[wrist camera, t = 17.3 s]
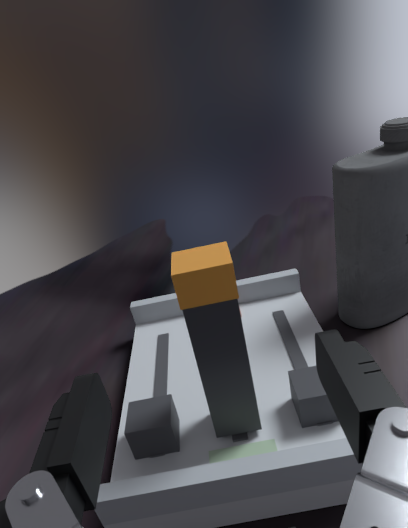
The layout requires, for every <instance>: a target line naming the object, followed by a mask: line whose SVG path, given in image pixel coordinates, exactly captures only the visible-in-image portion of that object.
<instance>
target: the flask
mask: <svg viewBox="0 0 408 528" xmlns="http://www.w3.org/2000/svg"><path fill="white" fill-rule="evenodd" d="M380 141H383V142H384V144H383V145H381V146H379V147H376V148H374V149H371V150H369V151H366V152H363V153H360V154H357V155H354V156H351V157H348V158H345V159H342V160H340V161H339V162H337V163H336V164H334V165H333V168H332V173H333V195H334V218H335V241H336V263H337V286H338V308H339V317H340V319H341V320H342V321H343V322H344V323H346V324H347V325H349V326H352V327H355V328H360V329H369V328H375V327H379V326H382V325H385V324H387V323H389V322H391V321H394V320H396V319H397V318H399V317H401V316H403V315H405V314H406V313H408V117H404V118H397V119H392V120H389V121H386V122H385V123H384V124H383V125H382V126H381V127H380Z"/></svg>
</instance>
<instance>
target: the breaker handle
mask: <svg viewBox="0 0 408 528" xmlns="http://www.w3.org/2000/svg"><path fill="white" fill-rule="evenodd" d="M171 277H172V281H173V284H174V288H175V292H176V296H177V299H178V303H179V307H180V310H182V311H183V314H184V318H185V322H186V326H187V329H188V333H189V337H190V340H191V344H192V348H193V352H194V355H195V359H196V363H197V366H198V370H199V374H200V378H201V381H202V385H203V389H204V393H205V396H206V400H207V404H208V407H209V411H210V415H211V419H212V422H213V426H214V430H215V433H216V437H217V438H219V437H224V436H230V435H235V434H240V433H245V432H251V431H256V430H261V429H262V427H261V422H260V417H259V411H258V406H257V400H256V395H255V390H254V384H253V379H252V374H251V368H250V363H249V358H248V352H247V347H246V341H245V336H244V331H243V325H242V320H241V315H240V309H239V304H238V298H239V295H238V289H237V284H236V278H235V273H234V268H233V262H232V259H231V256H230V252H229V249H228V245H227V242H221V243H216V244H211V245H206V246H202V247H197V248H192V249H187V250H183V251H178V252H173V253H172V261H171Z"/></svg>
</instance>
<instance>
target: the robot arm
mask: <svg viewBox="0 0 408 528" xmlns="http://www.w3.org/2000/svg"><path fill="white" fill-rule="evenodd" d="M315 353H316V367H317V372H318V376H319V379H320V382H321V384H322V386H323V388H324V390H325V393H326V395H327V397H328V399H329V401H330V403H331V406H332V408H333V410H334V412H335V414H336V416H337V419H338V421H339V423H340V425H341V427H342V429H343V432H344V434H345V436H346V438H347V440H348V442H349V445H350V447H351V449H352V451H353V453H354V455H355V458H356V460H357V462H358V464H360V463H363V466H362V469H361V472H360V473H359V472H358V473H357V475H356V477H355V480H354V483H353V486H352V490H351V493H350V496H349V499H348V503H347V506H346V509H345V512H344V516H343V519H342V522H341V526H340V528H408V408H407V407H406V406H405V405H404V403H403V402H402V400H401V399H400V397H399V396H398V394H397V393H396V391H395V390H394V388H393V387H392V385H391V384H390V383H389V381H388V380H387V378H386V377H385V375H384V374H383V372H381V369H380V368H379V366H378V365H377V363H375V361H374V359H373V357H372V356H371V354H370V353H369V352H368V350H367V349H366V348H364V347H363V346H362V345H360V344H359V343H357V342H356V341H350V342H344V340H343V338H342V337H341V335H340V333H339V332H338V331H337V330H336V329H334V330H328V331H323V332H318V333H315ZM111 420H112V408H111V403H110V400H109V398H108V395H107V393H106V391H105V388H104V386H103V383H102V381H101V379H100V376H99V375H98V373H92V374H87V375H82V376H77V377H75V379H74V381H73V384H72V388H71V391H70V392H69V393H64V394H62V395H61V397H60V398H59V399H58V401H57V402H56V403H55V404H54V406H53V408H52V411H51V414H50V417H49V422H47V425H46V428H45V432H44V433H43V436H42V439H41V442H40V445H39V447H38V450H37V453H36V456H35V459H34V462H33V464H32V467H31V470H30V473H29V474H28V475H26V476H24V477H23V478H22V479H20V480H19V481H18V482H17V483H16V484H15V485H14V487H13V488H12V489H11V491H10V492H9V494H8V496H7V498H6V499H5V500H3V501H1V502H0V528H83V526H82V525H81V522H82V517H83V512H84V511H88V510H94V509H96V505H97V499H98V493H99V488H100V482H101V476H102V471H103V465H104V459H105V454H106V448H107V443H108V437H109V431H110V426H111ZM290 528H296V527H290Z"/></svg>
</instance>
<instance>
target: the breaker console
mask: <svg viewBox="0 0 408 528" xmlns="http://www.w3.org/2000/svg"><path fill="white" fill-rule="evenodd" d="M236 284H237V289H238V295H239V298H238V304H239V309H240V315H241V320H242V325H243V331H244V336H245V341H246V347H247V352H248V358H249V363H250V368H251V374H252V379H253V384H254V390H255V395H256V400H257V406H258V411H259V417H260V422H261V427H262V429H261V430H256V431H251V432H245V433H240V434H235V435H230V436H224V437H219V438H217V437H216V433H215V430H214V426H213V422H212V419H211V415H210V411H209V407H208V404H207V400H206V396H205V393H204V389H203V385H202V381H201V378H200V374H199V370H198V366H197V363H196V359H195V355H194V352H193V348H192V344H191V340H190V337H189V333H188V329H187V326H186V322H185V318H184V314H183V311H182V310H180V307H179V303H178V299H177V296H176V293H174V294H169V295H164V296H159V297H154V298H149V299H145V300H140V301H135V302H131V307H130V308H131V311H132V314H133V317H134V320H135V323H136V329H135V335H134V341H133V347H132V353H131V359H130V365H129V371H128V377H127V383H126V389H125V396H124V402H123V408H122V414H121V420H120V426H119V432H118V438H117V444H116V450H115V456H114V463H113V469H112V475H111V481H110V483H105V484H100V488H99V493H98V499H97V505H96V509H94V510H95V512H96V514H97V516H98V518H99V519H100V521H101V523H102V525H103V527H104V528H216V527H221V526H227V525H232V524H238V523H243V522H249V521H254V520H260V519H265V518H271V517H276V516H281V515H287V514H292V513H298V512H303V511H309V510H314V509H320V508H325V507H331V506H336V505H341V504H347V503H348V499H349V496H350V493H351V490H352V486H353V483H354V480H355V477H356V475H357V473H358V472H359V473H360V472H361V469H362V466H363V463H360V464H358V462H357V460H356V458H355V455H354V453H353V451H352V449H351V447H350V445H349V442H348V440H347V438H346V436H345V434H344V432H343V429H342V427H341V425H340V423H339V421H338V419H337V416H336V414H335V412H334V410H333V408H332V406H331V403H330V401H329V399H328V397H327V395H326V393H325V390H324V388H323V386H322V384H321V382H320V379H319V376H318V372H317V367H316V353H315V333H318V332H323V330H322V328H321V327H320V325H319V323H318V321H317V319H316V318H315V316H314V314H313V312H312V311H311V309H310V307H309V305H308V304H307V302H306V300H305V298H304V297H303V295H302V293H301V290H300V280H299V273H298V271H297V269H291V270H287V271H282V272H277V273H272V274H267V275H262V276H257V277H252V278H247V279H242V280H238V281H236Z"/></svg>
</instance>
